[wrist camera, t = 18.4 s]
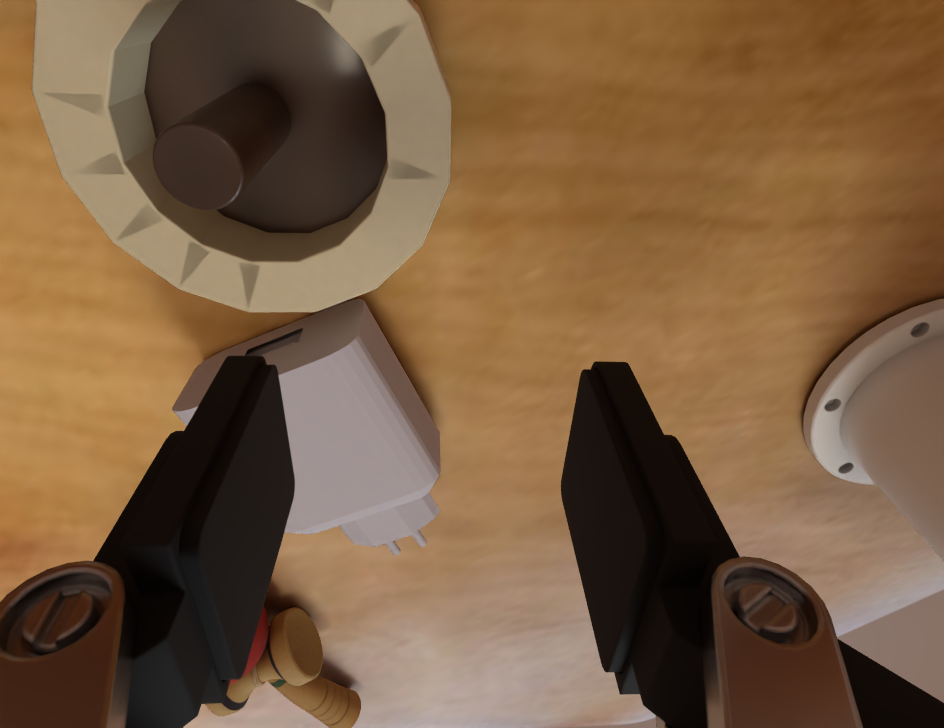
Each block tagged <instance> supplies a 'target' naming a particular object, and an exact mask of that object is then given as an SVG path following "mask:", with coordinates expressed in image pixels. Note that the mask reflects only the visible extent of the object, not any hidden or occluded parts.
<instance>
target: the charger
mask: <svg viewBox="0 0 944 728" xmlns="http://www.w3.org/2000/svg"><path fill="white" fill-rule="evenodd" d="M227 356H263V357H264V358H265V360H266V363H267V364H268V365H276V367H277V370H278V375H279V381H280V388H281V394H282V401H283V407H284V413H285V420H286V426H287V432H288V439H289V445H290V452H291V458H292V464H293V471H294V477H295V492H294V498H293V502H292V506H291V509H290V513H289V517H288V520H287V524H286V527H285V531H284V532H287V533H298V534H315V533H318V532H321V531H324V530H327V529H330V528H333V527H336V526H339V527H340V528H341V529H342V531H343V532H344V533H345V534H346V536H347V537H348V538H349V539H350V541H352V542H353V543H354V544H356V545H364V546H372V547H376V546H379V545H382V544H386V546H387V547H388V548H389V550H390V551H391V552H392V554H393V555H398V554H399V553H400V551H401V550H400V548H399V547H398V546H397V544H396V543H395V542H394V540H397V539H401V538H404V537H407V536H410V535H412V536H413V537H414V539H415V540H416V542H417V543H418V545H419V546H421V547H423V546H425V545H426V544H427V541H426V539H425V538H424V536H423V535H422V533H421V532H420V529H421V528H422V527H424V526H425V525H426V524H428V523H429V522H430V521H432V520H433V519H434V518H435V517H436V516H437V515H438V513H439V512H440V509H439V507H438V506H437V504H436V503H435V501H434V500H433V498H432V496H431V495H430V493H429V492H430V490H431V488H432V487H433V485H434V483H435V482H436V480H437V478H438V476H439V474H440V433H439V430H438V429H437V427H436V425H435V423H434V422H433V420H432V418H431V416H430V415H429V413H428V411H427V409H426V408H425V406H424V404H423V402H422V401H421V399H420V397H419V396H418V394H417V392H416V390H415V389H414V387H413V385H412V383H411V382H410V380H409V378H408V376H407V375H406V373H405V371H404V369H403V368H402V366H401V364H400V362H399V361H398V359H397V357H396V355H395V354H394V352H393V350H392V348H391V347H390V345H389V343H388V341H387V340H386V338H385V336H384V334H383V333H382V331H381V329H380V328H379V326H378V324H377V322H376V321H375V319H374V317H373V315H372V314H371V312H370V310H369V308H368V307H367V305H366V303H365V301H364V300H363V299H355V300H350V301H347V302H343V303H341V304H338V305H335V306H332V307H330V308H327V309H325V310H323V311H320V312H318V313H315V314H313V315H310V316H308V317H305V318H303V319H300V320H298V321H295V322H293V323H290V324H288V325H285V326H283V327H280V328H278V329H275V330H273V331H270V332H268V333H265V334H263V335H260V336H258V337H255V338H253V339H250V340H248V341H245V342H243V343H240V344H238V345H235V346H233V347H230V348H228V349H226V350H224V351H221V352H219V353H217V354H215V355H213V356H212V357H210V358H208V359H207V360H205V361H204V362H202V363H201V364H200V365H198V366H197V367H196V369H195V370H194V372H193V373H192V375H191V377H190V378H189V380H188V382H187V384H186V385H185V387H184V389H183V390H182V392H181V394H180V395H179V397H178V399H177V400H176V402H175V404H174V406H173V408H172V410H173V411H174V413H175V414H176V415H177V416H178V417H179V418H180V419H181V420H182V422H183V423H184V424H185V425H186V426H187V425H188V423H189V422H190V420H191V418H192V416H193V415H194V413H195V411H196V409H197V407H198V406H199V404H200V402H201V400H202V399H203V397H204V395H205V393H206V392H207V390H208V388H209V386H210V385H211V383H212V381H213V379H214V378H215V376H216V374H217V372H218V371H219V369H220V367H221V365H222V364H223V362H224V360H225V359H226V357H227Z"/></svg>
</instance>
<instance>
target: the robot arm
mask: <svg viewBox="0 0 944 728" xmlns="http://www.w3.org/2000/svg"><path fill="white" fill-rule="evenodd" d="M803 433H804V437H805V440H806V444H807V446H808V448H809V449H810V451H811V452H812V454H813V456H814V457H815V458H816V459H817V460H818V461H819V463H820V464H821V465H822V466H823V467H824V468H825V469H826V470H827V471H828V472H830V473H831V474H833V475H834V476H836V477H838V478H841V479H844V480H847V481H850V482H854V483H861V484H868V485H877V487H878V488H879V489H880V490H881V491H882V492H883V493H884V494H885V496H886V497H887V498H888V499H889V500H890V501H891V502H892V504H893V505H894V506H895V507H896V508H897V509H898V510H899V511H900V513H901V514H902V515H903V516H904V517H905V518H906V519H907V520H908V522H909V523H910V524H911V525H912V526H913V527H914V528H915V530H916V531H917V532H918V533H919V534H920V535H921V536H922V537H923V539H924V540H925V541H926V542H927V543H928V544H929V545H930V546H931V548H932V549H933V550H934V551H935V552H936V553H937V554H938V556H939V557H940V558H941V559H942V560H943V561H944V299H938V300H934V301H931V302H928V303H925V304H921V305H918V306H915V307H912V308H910V309H908V310H906V311H903V312H901V313H899V314H897V315H895V316H892V317H890V318H888V319H886V320H885V321H883V322H882V323H880V324H878V325H877V326H875V327H873V328H872V329H870V330H869V331H867V332H865V333H864V334H863V335H862V336H860V337H859V338H858V339H857V340H855V341H854V342H853V343H852V344H850V345H849V346H848V347H847V348H846V349H845V350H844V351H843V352H842V353H841V354H840V355H839V356H838V357H837V358H836V359H835V360H834V361H833V362H832V363H831V364H830V365H829V367H828V368H827V369H826V371H825V372H824V373H823V375H822V376H821V377H820V379H819V380H818V382H817V383H816V385H815V387H814V389H813V391H812V393H811V395H810V397H809V399H808V402H807V406H806V409H805V413H804V420H803ZM294 492H295V477H294V471H293V464H292V458H291V452H290V445H289V439H288V432H287V426H286V420H285V413H284V407H283V401H282V394H281V388H280V381H279V375H278V370H277V367H276V365H268V364H267V363H266V360H265V358H264V357H263V356H227V357H226V359H225V360H224V362H223V364H222V365H221V367H220V369H219V371H218V372H217V374H216V376H215V378H214V379H213V381H212V383H211V385H210V386H209V388H208V390H207V392H206V393H205V395H204V397H203V399H202V400H201V402H200V404H199V406H198V407H197V409H196V411H195V413H194V415H193V416H192V418H191V420H190V422H189V423H188V425H187V427H186V429H185V430H184V431H175V432H173V433H171V434H170V435H169V437H168V438H167V439H166V440H165V442H164V444H163V445H162V447H161V449H160V450H159V452H158V454H157V455H156V457H155V459H154V460H153V462H152V464H151V465H150V467H149V469H148V470H147V472H146V474H145V475H144V477H143V479H142V480H141V482H140V484H139V485H138V487H137V489H136V490H135V492H134V494H133V495H132V497H131V499H130V501H129V502H128V504H127V506H126V507H125V509H124V511H123V512H122V514H121V516H120V517H119V519H118V521H117V522H116V524H115V526H114V527H113V529H112V531H111V532H110V534H109V536H108V537H107V539H106V541H105V542H104V544H103V546H102V547H101V549H100V551H99V552H98V554H97V556H96V557H95V559H94V561H81V562H72V563H66V564H63V565H60V566H57V567H54V568H51V569H47V570H45V571H43V572H41V573H40V574H38V575H36V576H34V577H32V578H30V579H28V580H26V581H25V582H23V583H22V584H21V585H19V586H18V587H17V588H15V589H14V590H13V591H11V592H10V593H9V594H7V595H6V597H5V598H4V599H3V600H2V601H1V602H0V728H183V727H184V726H185V725H186V724H187V723H189V722H190V721H191V720H193V719H194V718H195V717H196V716H198V713H199V710H200V707H201V704H214V703H224V701H225V697H226V694H227V691H228V687H229V684H230V681H231V680H239V679H241V678H242V676H243V674H244V672H245V669H246V666H247V662H248V658H249V655H250V651H251V648H252V644H253V641H254V637H255V634H256V630H257V627H258V623H259V619H260V616H261V612H262V609H263V605H264V602H265V598H266V595H267V591H268V587H269V584H270V580H271V577H272V573H273V570H274V566H275V563H276V559H277V556H278V552H279V548H280V545H281V541H282V538H283V534H284V531H285V527H286V524H287V520H288V517H289V513H290V509H291V506H292V502H293V498H294ZM561 495H562V501H563V505H564V509H565V514H566V518H567V522H568V526H569V530H570V534H571V539H572V543H573V547H574V551H575V555H576V560H577V564H578V568H579V572H580V576H581V580H582V585H583V589H584V593H585V597H586V601H587V606H588V610H589V614H590V618H591V622H592V626H593V631H594V635H595V639H596V643H597V647H598V652H599V656H600V660H601V663H602V667H603V669H604V671H605V672H614V673H615V677H616V681H617V684H618V688H619V692H620V694H640V695H641V699H642V702H643V705H644V706H645V707H646V708H648V709H649V710H650V711H651V712H653V713H654V714H655V715H656V728H944V703H943V702H941V701H939V700H938V699H936V698H935V697H933V696H931V695H930V694H928V693H926V692H925V691H923V690H921V689H919V688H918V687H916V686H915V685H913V684H911V683H910V682H908V681H906V680H905V679H903V678H901V677H900V676H898V675H896V674H895V673H893V672H892V671H889V670H888V669H886V668H885V667H883V666H881V665H880V664H878V663H877V662H875V661H873V660H872V659H870V658H868V657H867V656H865V655H863V654H862V653H860V652H858V651H857V650H855V649H853V648H852V647H850V646H849V645H847V644H845V643H843V642H842V641H840V640H839V639H837V637H836V633H835V630H834V626H833V623H832V619H831V617H830V614H829V612H828V610H827V608H826V606H825V604H824V602H823V600H822V599H821V598H820V597H819V595H818V594H817V593H816V592H815V590H814V589H813V588H812V587H811V586H810V585H809V584H808V583H806V582H805V581H804V580H803V579H802V578H800V577H799V576H798V575H797V574H795V573H793V572H792V571H790V570H788V569H786V568H784V567H783V566H781V565H779V564H776V563H773V562H770V561H767V560H764V559H761V558H753V557H740V556H739V555H738V553H737V551H736V549H735V547H734V545H733V543H732V541H731V539H730V537H729V535H728V534H727V532H726V530H725V528H724V526H723V524H722V522H721V520H720V518H719V516H718V515H717V513H716V511H715V509H714V507H713V505H712V503H711V501H710V499H709V497H708V495H707V494H706V492H705V490H704V488H703V486H702V484H701V482H700V480H699V478H698V476H697V475H696V473H695V471H694V469H693V467H692V465H691V463H690V461H689V459H688V457H687V455H686V454H685V452H684V450H683V448H682V446H681V444H680V443H679V441H678V440H677V438H676V437H674V436H672V435H664V434H663V432H662V430H661V428H660V426H659V424H658V422H657V420H656V418H655V416H654V414H653V412H652V410H651V408H650V406H649V404H648V402H647V400H646V398H645V396H644V394H643V392H642V390H641V388H640V386H639V384H638V382H637V380H636V378H635V376H634V374H633V372H632V370H631V368H630V366H629V365H628V363H626V362H594V363H593V365H592V368H591V370H583V371H582V373H581V376H580V381H579V386H578V392H577V397H576V403H575V408H574V414H573V419H572V425H571V430H570V436H569V441H568V447H567V452H566V457H565V463H564V468H563V474H562V480H561Z"/></svg>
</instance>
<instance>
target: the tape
mask: <svg viewBox="0 0 944 728" xmlns="http://www.w3.org/2000/svg"><path fill="white" fill-rule="evenodd" d="M180 1H181V0H36V13H35V33H34V53H33V74H32V93H33V96H34V99H35V102H36V105H37V107H38V110H39V113H40V116H41V119H42V122H43V125H44V127H45V130H46V133H47V136H48V139H49V142H50V145H51V147H52V150H53V153H54V156H55V159H56V162H57V165H58V167H59V170H60V173H61V176H62V177H63V178H64V180H65V181H66V182H67V184H68V185H69V186H70V188H71V189H72V190H73V191H74V193H75V194H76V195H77V197H78V198H79V199H80V200H81V202H82V203H83V204H84V206H85V207H86V208H87V209H88V211H89V212H90V213H91V215H92V216H93V217H94V219H95V220H96V221H97V222H98V224H99V225H100V226H101V228H102V229H103V230H104V231H105V233H106V234H107V235H108V237H109V238H110V239H111V240H112V242H113V243H114V244H116V245H117V246H118V247H120V248H121V249H123V250H124V251H125V252H127V253H128V254H130V255H131V256H132V257H134V258H135V259H137V260H138V261H139V262H141V263H142V264H144V265H145V266H147V267H148V268H149V269H151V270H152V271H154V272H155V273H156V274H158V275H159V276H161V277H162V278H163V279H165V280H166V281H168V282H169V283H170V284H172V285H173V286H175V287H176V288H178V289H179V290H182V291H185V292H188V293H191V294H194V295H197V296H200V297H203V298H206V299H209V300H212V301H215V302H218V303H221V304H224V305H227V306H230V307H233V308H236V309H240V310H243V311H246V312H317V311H320V310H322V309H325V308H328V307H330V306H333V305H336V304H338V303H341V302H344V301H346V300H349V299H351V298H354V297H357V296H359V295H362V294H365V293H367V292H370V291H373V290H375V289H377V288H378V287H379V286H380V285H381V284H382V283H383V282H384V281H385V280H386V279H387V278H389V277H390V276H391V275H392V274H393V273H394V272H395V271H396V270H397V269H398V268H399V267H400V266H401V265H402V264H403V263H404V262H405V261H406V260H407V259H409V258H410V257H411V256H412V255H413V254H414V253H415V252H416V251H417V250H418V249H419V248H420V247H421V246H422V245H423V244H424V241H425V239H426V237H427V234H428V232H429V230H430V227H431V225H432V223H433V220H434V218H435V215H436V213H437V211H438V208H439V206H440V204H441V201H442V199H443V197H444V194H445V192H446V190H447V187H448V185H449V183H450V173H451V97H450V92H449V87H448V84H447V81H446V78H445V75H444V73H443V70H442V67H441V64H440V62H439V59H438V56H437V53H436V51H435V48H434V45H433V42H432V40H431V37H430V34H429V31H428V29H427V26H426V23H425V20H424V18H423V15H422V12H421V10H420V8H419V7H418V6H417V5H416V4H415V2H414V1H413V0H296V1H298V2H300V3H302V4H304V5H307V6H309V7H311V8H313V9H315V10H317V11H318V12H319V13H320V15H321V16H322V17H323V18H324V19H325V20H326V21H327V22H328V23H329V24H330V25H331V26H332V27H333V28H334V29H335V31H336V32H337V33H338V34H339V35H340V36H341V37H342V38H343V39H344V40H345V41H346V42H347V43H348V44H349V45H350V47H351V48H352V49H353V50H354V51H355V52H356V53H357V54H358V55H359V56H360V57H361V59H362V61H363V63H364V66H365V68H366V70H367V73H368V75H369V77H370V79H371V82H372V84H373V86H374V89H375V91H376V93H377V96H378V98H379V100H380V103H381V105H382V107H383V110H384V112H385V124H386V146H387V161H386V164H385V166H384V169H383V172H382V175H381V177H380V180H379V183H378V186H377V188H376V189H375V190H374V191H373V193H372V194H371V195H370V196H369V197H368V198H367V199H366V200H365V201H364V202H363V203H362V204H361V205H360V206H359V207H358V208H357V209H356V210H355V211H354V212H353V213H352V214H351V215H350V216H349V217H348V218H347V219H344V220H342V221H339V222H337V223H334V224H332V225H329V226H327V227H324V228H322V229H319V230H317V231H314V232H312V233H267V232H265V231H262V230H259V229H257V228H254V227H251V226H249V225H246V224H243V223H241V222H238V221H235V220H233V219H230V218H227V217H224V216H223V215H222V214H221V213H219V212H218V211H217V210H201V209H196V208H193V207H190V206H188V205H185V204H183V203H182V202H180V201H178V200H177V199H176V198H174V197H173V196H172V195H171V194H170V193H169V192H168V191H167V190H166V189H165V188H164V186H163V185H162V184H161V182H160V180H159V179H158V177H157V174H156V172H155V169H154V165H153V148H154V144H155V141H156V137H155V133H154V129H153V125H152V121H151V117H150V113H149V109H148V105H147V101H146V97H145V93H144V90H145V83H146V76H147V69H148V62H149V55H150V48H151V42H152V41H153V39H154V38H155V36H156V35H157V34H158V32H159V31H160V29H161V28H162V26H163V25H164V24H165V22H166V21H167V19H168V18H169V16H170V15H171V13H172V12H173V11H174V9H175V8H176V6H177V5H178V3H179V2H180Z"/></svg>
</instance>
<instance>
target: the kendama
mask: <svg viewBox="0 0 944 728" xmlns="http://www.w3.org/2000/svg"><path fill="white" fill-rule="evenodd" d="M322 662H323V651H322V645H321V640H320V637H319V634H318V631H317V629H316V627H315V625H314V623H313V621H312V620H311V618H310V617H309V616H308V615H307V614H306V613H305V612H304V611H303V610H302V609H300V608H297V607H294V608H290V609H288V610H285V611H283V612H281V613H279V614H277V615H276V616H275V617H274V618H273V620H272V622H271V625H270V626H269V623H268V617H267V613H266V610H265V608H264V606H263V609H262V612H261V616H260V619H259V623H258V627H257V630H256V634H255V637H254V641H253V644H252V648H251V651H250V655H249V658H248V662H247V666H246V669H245V672H244V674H243V676H242V678H241V679H239V680H231V681H230V684H229V687H228V691H227V694H226V697H225V701H224V703H214V704H206V706H207V707H208V709H209V710H210V711H211V712H212V713H214V714H215V715H217V716H227V715H230V714H232V713H235V712H237V711H239V710H240V709H242V708H243V707H244V705H245V704H246V702H247V700H248V698H249V695H250V693H251V692H252V691H253V689H254V688H255V687H259V686H261V685H263V684H264V683H265V681H268V682H270V684H272V686H274V687H275V688H276V689H277V690H278V691H279V692H281V693H282V694H283V695H284V696H285V697H286V698H288V699H289V700H290V701H292V702H293V703H294V704H296V705H297V706H299V707H300V708H301V709H303V710H305V711H306V712H308V713H309V714H311V715H312V716H314V717H315V718H317V719H318V720H320V721H321V722H323V723H324V724H325V725H327V726H328V727H329V728H351V727H352V726H353V725H354V724H355V722H356V721H357V719H358V716H359V714H360V710H361V700H360V697H359V695H358V694H357V693H356V692H355V691H353V690H350V689H348V688H345V687H343V686H341V685H338V684H336V683H334V682H332V681H329V680H327V679H325V678H323V677H321V676H319V673H320V671H321V668H322Z"/></svg>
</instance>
